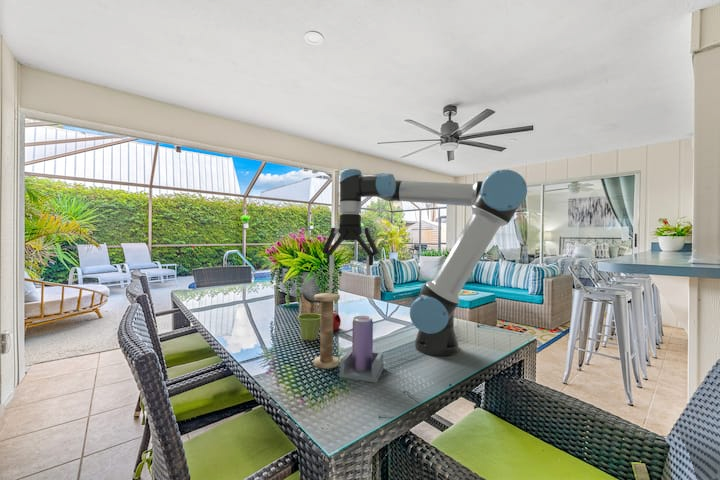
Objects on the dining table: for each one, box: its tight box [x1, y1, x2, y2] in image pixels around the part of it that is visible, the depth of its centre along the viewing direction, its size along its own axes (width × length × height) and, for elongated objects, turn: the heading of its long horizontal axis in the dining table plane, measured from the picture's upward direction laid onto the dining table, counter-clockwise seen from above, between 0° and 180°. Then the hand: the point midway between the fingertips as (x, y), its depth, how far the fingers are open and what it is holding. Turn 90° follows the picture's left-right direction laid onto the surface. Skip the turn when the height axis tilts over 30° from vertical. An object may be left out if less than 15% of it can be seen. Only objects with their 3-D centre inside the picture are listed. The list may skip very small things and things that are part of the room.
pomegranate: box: [319, 310, 342, 332], centre depth 133 cm, size 10×10×9 cm
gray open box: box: [338, 348, 385, 383], centre depth 92 cm, size 11×10×5 cm
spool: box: [313, 292, 341, 370], centre depth 98 cm, size 8×8×22 cm
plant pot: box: [297, 313, 321, 342], centre depth 121 cm, size 9×9×9 cm
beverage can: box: [351, 315, 374, 372], centre depth 92 cm, size 6×6×15 cm
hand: (349, 274), depth 110 cm, fingers open, 13 cm apart
